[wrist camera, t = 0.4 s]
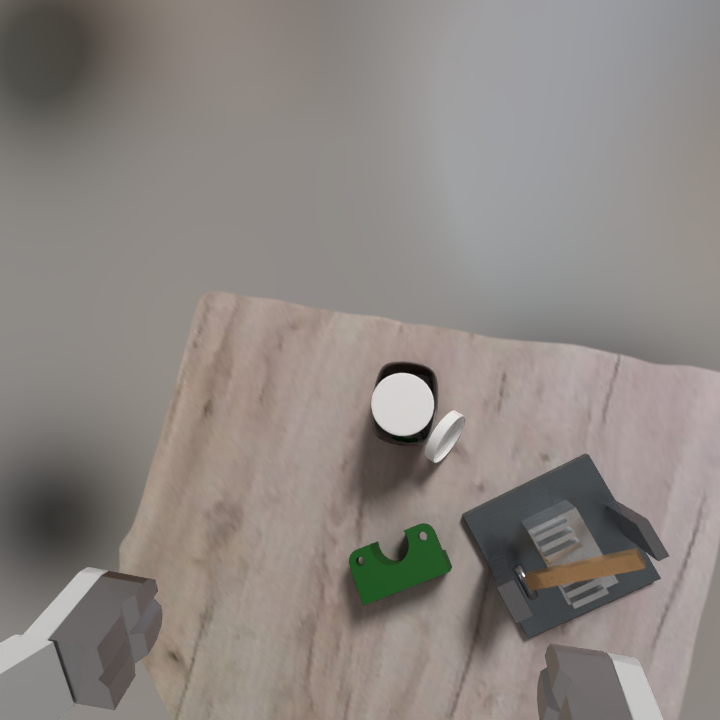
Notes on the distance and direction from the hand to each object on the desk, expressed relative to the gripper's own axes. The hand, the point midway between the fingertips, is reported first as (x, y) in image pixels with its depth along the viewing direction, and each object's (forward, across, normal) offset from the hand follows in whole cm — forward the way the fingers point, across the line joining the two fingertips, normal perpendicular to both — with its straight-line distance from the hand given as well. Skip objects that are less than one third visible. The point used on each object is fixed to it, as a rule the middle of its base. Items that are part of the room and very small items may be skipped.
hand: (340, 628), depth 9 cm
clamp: (+40, +1, -38) cm, 55 cm away
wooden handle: (+33, +19, -30) cm, 49 cm away
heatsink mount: (+41, +20, -34) cm, 56 cm away
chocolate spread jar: (+48, +2, -21) cm, 52 cm away
